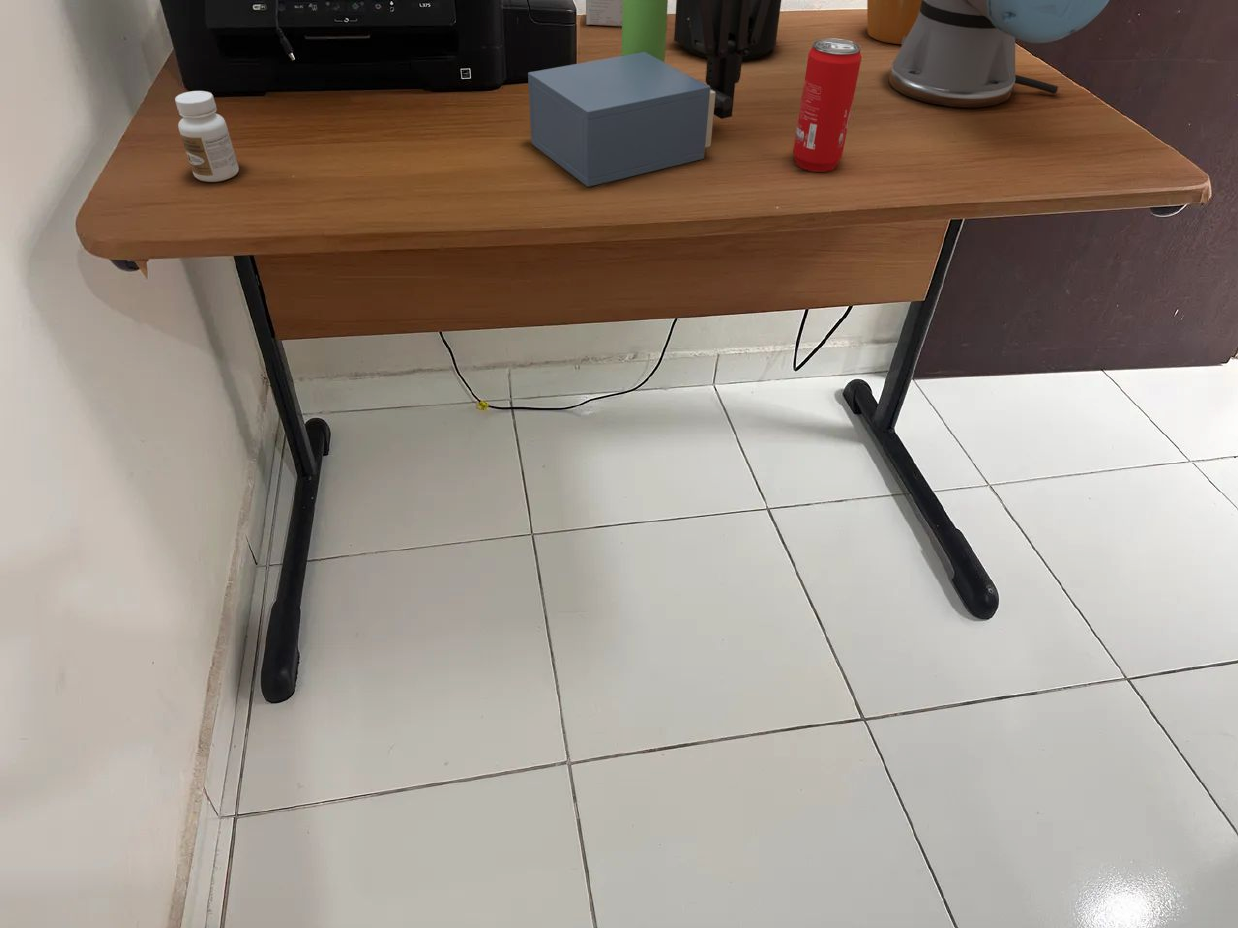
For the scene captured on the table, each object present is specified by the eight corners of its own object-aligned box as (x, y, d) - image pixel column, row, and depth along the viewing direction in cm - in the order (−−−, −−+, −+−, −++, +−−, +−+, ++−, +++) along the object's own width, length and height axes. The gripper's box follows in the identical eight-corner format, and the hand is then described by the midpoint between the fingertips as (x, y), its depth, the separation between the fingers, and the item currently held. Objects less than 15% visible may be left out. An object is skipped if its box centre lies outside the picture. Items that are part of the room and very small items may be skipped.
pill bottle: (186, 174, 89) (160, 96, 83) (225, 161, 91) (203, 85, 86) (207, 187, 86) (182, 108, 81) (247, 174, 89) (226, 97, 84)
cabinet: (642, 120, 102) (644, 51, 97) (704, 159, 94) (710, 86, 89) (531, 144, 96) (527, 72, 91) (587, 187, 88) (587, 112, 83)
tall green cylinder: (667, 94, 108) (675, -42, 98) (656, 109, 104) (662, -31, 94) (627, 89, 109) (631, -46, 99) (615, 103, 106) (617, -35, 95)
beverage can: (792, 152, 96) (810, 36, 88) (839, 156, 95) (862, 39, 87) (790, 171, 92) (810, 52, 84) (840, 176, 91) (864, 56, 83)
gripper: (769, -144, 88) (744, 93, 104) (663, -134, 83) (654, 114, 99) (819, -133, 83) (784, 114, 99) (710, -122, 78) (692, 136, 94)
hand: (719, 113), depth 99 cm, fingers closed
